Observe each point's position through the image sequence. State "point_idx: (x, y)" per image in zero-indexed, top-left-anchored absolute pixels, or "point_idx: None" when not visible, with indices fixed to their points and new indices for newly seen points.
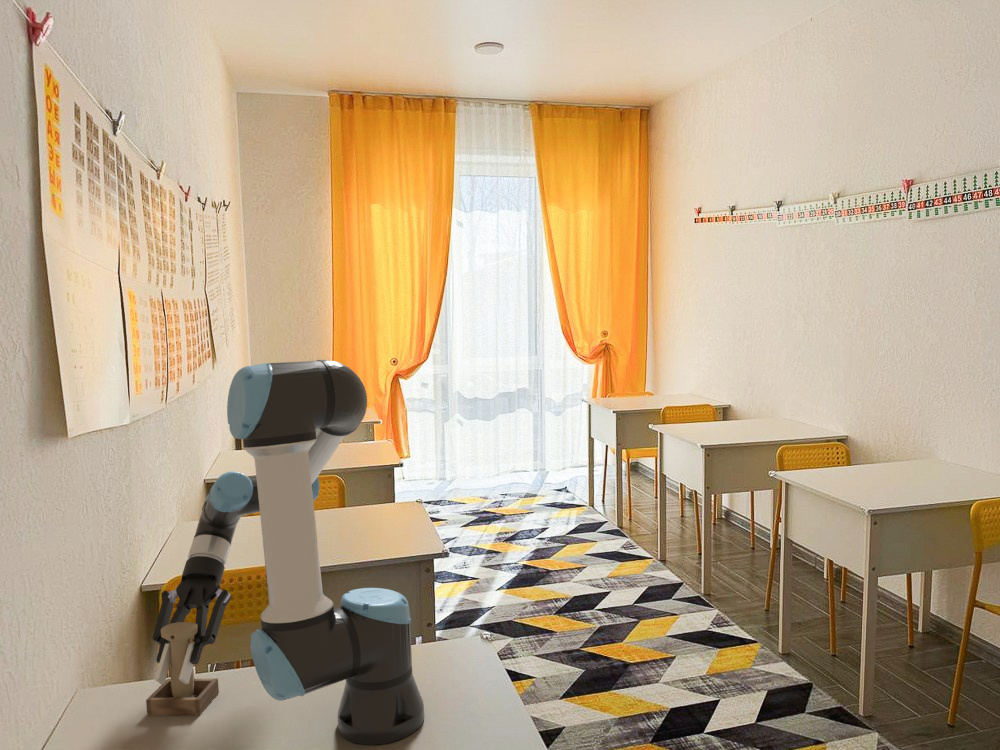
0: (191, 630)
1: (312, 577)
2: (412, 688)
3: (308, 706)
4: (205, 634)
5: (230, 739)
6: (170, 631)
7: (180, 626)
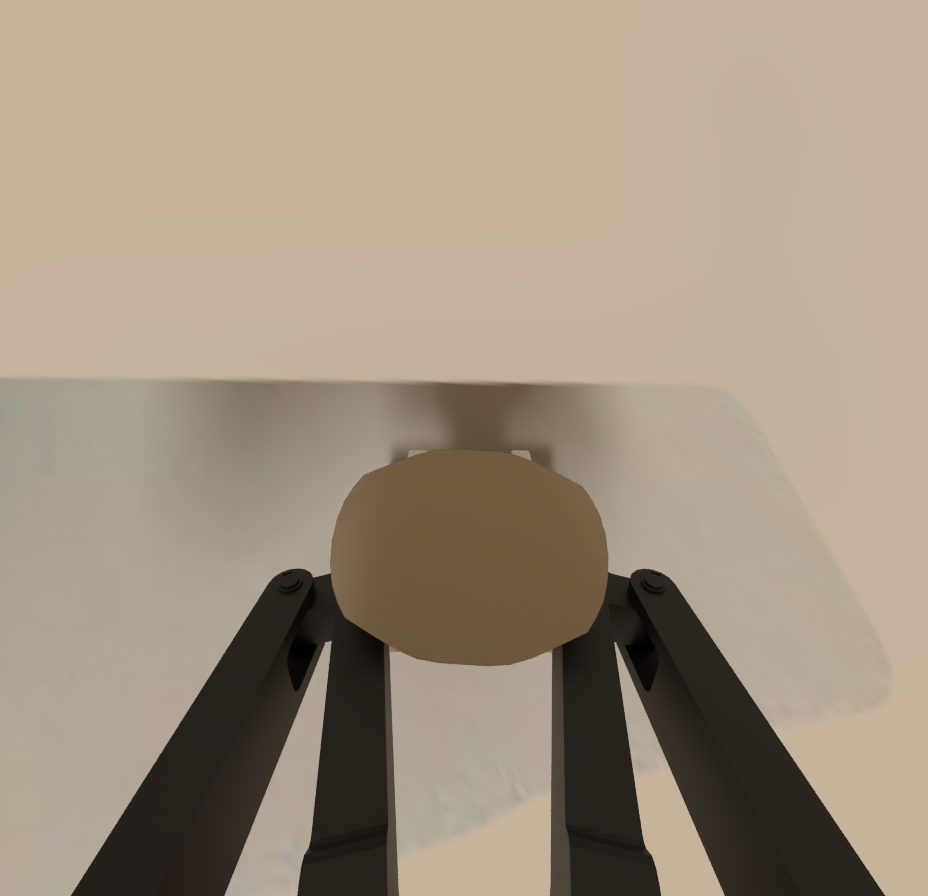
0: (347, 496)
1: None
2: None
3: (53, 549)
4: (302, 593)
5: (258, 388)
6: (501, 476)
7: (469, 572)
